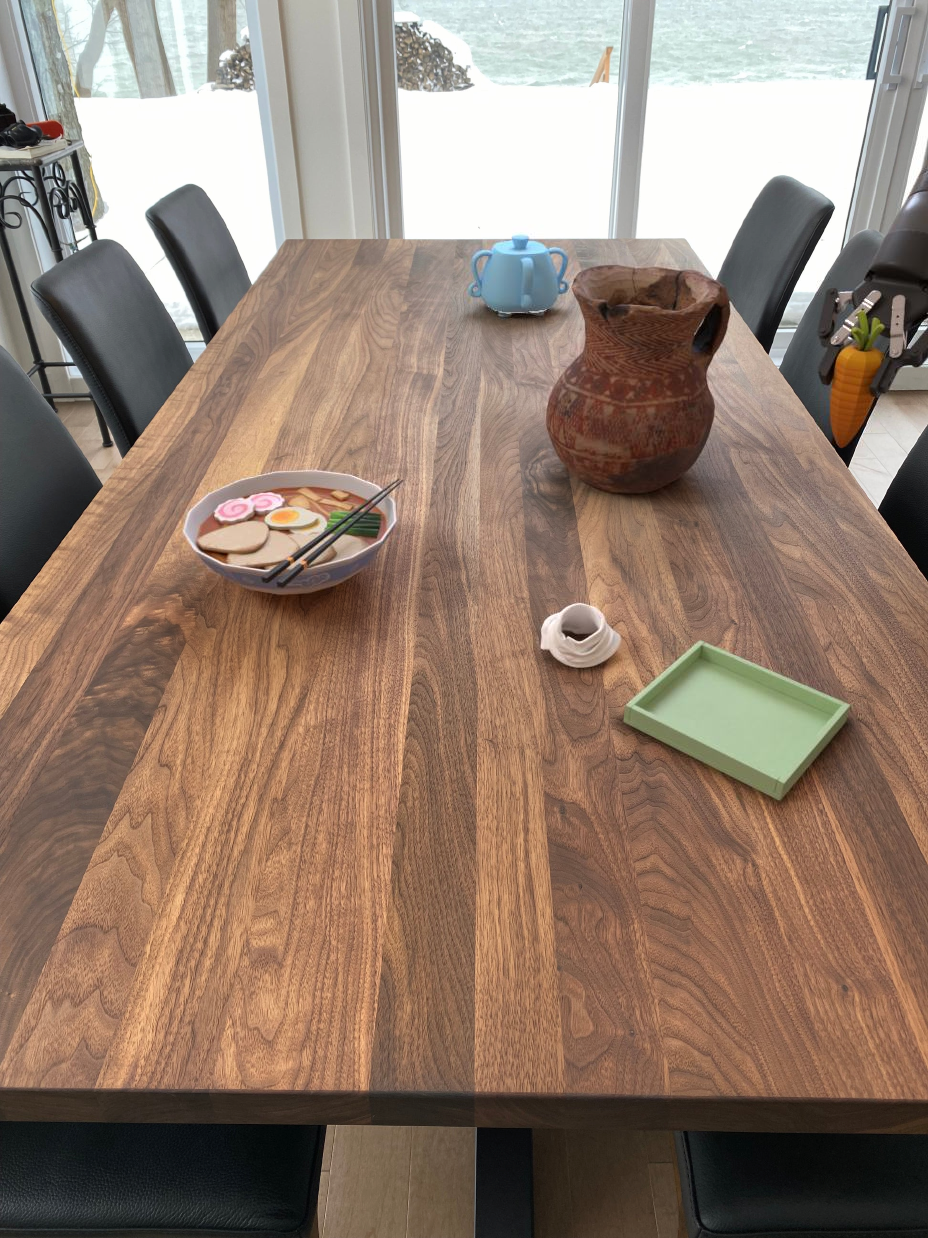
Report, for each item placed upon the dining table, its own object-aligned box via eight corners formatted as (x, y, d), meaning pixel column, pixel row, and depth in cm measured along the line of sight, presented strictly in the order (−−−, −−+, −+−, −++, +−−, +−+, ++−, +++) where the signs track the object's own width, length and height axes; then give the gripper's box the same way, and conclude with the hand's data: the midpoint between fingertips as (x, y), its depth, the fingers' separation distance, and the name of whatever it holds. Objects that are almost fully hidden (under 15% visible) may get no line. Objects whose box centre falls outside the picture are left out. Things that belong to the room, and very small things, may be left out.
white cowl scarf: (615, 638, 100) (623, 597, 98) (621, 674, 94) (629, 630, 92) (538, 631, 100) (543, 589, 98) (539, 666, 94) (545, 622, 92)
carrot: (868, 458, 107) (901, 322, 99) (821, 455, 108) (849, 320, 100) (860, 439, 111) (891, 307, 103) (815, 437, 112) (842, 305, 104)
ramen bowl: (281, 505, 122) (274, 445, 118) (441, 548, 114) (440, 484, 109) (141, 602, 104) (126, 535, 99) (318, 662, 95) (311, 591, 91)
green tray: (846, 722, 88) (850, 704, 87) (779, 801, 80) (784, 783, 79) (696, 656, 96) (699, 639, 95) (623, 722, 88) (625, 705, 87)
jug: (639, 526, 118) (663, 319, 104) (510, 473, 130) (516, 281, 116) (736, 468, 131) (769, 278, 117) (610, 425, 143) (626, 247, 129)
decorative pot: (577, 309, 190) (582, 235, 182) (522, 327, 180) (525, 251, 172) (514, 292, 199) (517, 222, 191) (459, 309, 189) (459, 235, 182)
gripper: (849, 217, 106) (779, 355, 105) (987, 237, 98) (912, 386, 97) (858, 258, 112) (792, 388, 111) (988, 280, 104) (918, 420, 103)
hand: (848, 386), depth 104 cm, fingers closed on carrot, 5 cm apart
